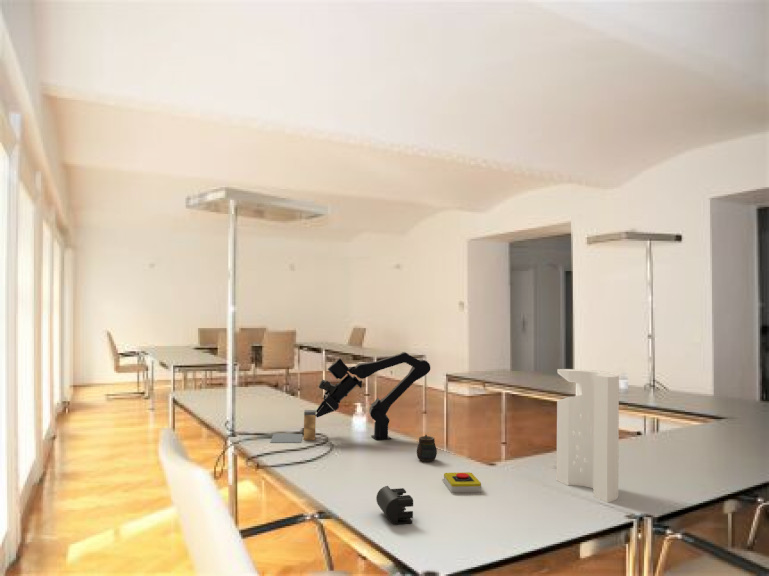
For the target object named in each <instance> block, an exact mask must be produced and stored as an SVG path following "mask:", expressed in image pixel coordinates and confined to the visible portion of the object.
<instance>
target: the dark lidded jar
mask: <svg viewBox="0 0 769 576" xmlns="http://www.w3.org/2000/svg"><path fill="white" fill-rule="evenodd" d="M435 442H436V441H435V437H433V436H431V435H429V436H428V434H425V435H422V436H419V437H418V445H417V447H416V456H417V459H418V460H419V461H421V462H425V463H429V462H433V461H434V460H436V458H437V456H438V455H437V454H438V450H437V445H436V443H435Z"/></svg>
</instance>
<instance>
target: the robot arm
mask: <svg viewBox="0 0 769 576" xmlns="http://www.w3.org/2000/svg"><path fill="white" fill-rule="evenodd" d="M400 364H406V365H409V366H410V367H411V368H410V370H409V372H408V373H407V374H406V376H405V377H403V379H402V380H401V381H399V383H397V384H396V385H395V386H394V387H393V388H392V389H391V390H390V392H388V393H387V395H386V396H384V397H383V398H381V399H379V397H377V398H376V399H375V400H374V402H372V403H370V407H369V410H368V411H369V416H370V417H371V418H372V420H374V428H373V429H374V430H373V433H374V434H373V435H370V437H371V438H372V439H375V440H376V441H382V440H383V441H384V440H391V439H392V437H391V436H389V425H390V421H391V420H390V418H389V417H388V415H387V413H388V411H389V410H390V408H391V406H392V405H393V404H394V403H395V402H396V401H397V400H398V399H399V398H400V397H401V396H402V395H403V394H404V393H405V392H406V391H407V390H408V389H409V388H410V387H411V386H412V385H413V384H414V383H416V381H418V380H420V379H422V378H423V377H425V376H426V375H428V374H429V372H430V371H431V364H430V363H429V361H427V360H425V359H423V358H422V359H421V358H420V359H418V358H416V357H414V356H412V355H410V354H409V353H407V352H405V351H404V352H403V351H402V352H400V353H397V354H395V355H391V356H389V357H385V358H382V359H378V360H376V361H366V362H360V363H357V364H356V365H355V366H347V364H346V363H345V362H344V361H343V359H341V358H338V359H337V360H336V361H335V362H333V363H332V364H330V365H329V367H328V368H327V370H328V371H329V372H330V373H331V375H332V376H333V377H334V378H335V379H336V380H338V379H339V380H340V382H339V383H336V384H333V383H332V382H330V381H328V380H326V379H325V380H324V379H321V381H320V383H319V384H318V388H319V389H320V390H323V391H325V392H324V394H323V400H322V401H321V403H320V405H319V406H318V407H317V409H315V410H316V418H320V417H323V416H324V415H328V414H330V413H332V412H336V411H337V410H338V409H339V407H340V403H341V401H342V400H343V399H345V397H347V396H348V395H349V394H350V393H351V391H352V390H353V389H355V388H356V386H358V387H359V388H360V389H362V387H363V385H362V384H363V380H362V379H366V378H368V377H370V376H372V375H374V374H375V373H377V372H379V371H382V370H384V369H388V368H391V367H394V366H398V365H400Z"/></svg>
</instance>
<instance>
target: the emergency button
mask: <svg viewBox="0 0 769 576" xmlns="http://www.w3.org/2000/svg"><path fill="white" fill-rule="evenodd" d="M441 481H442V483H443V485H444V486H445V487H446V488H447V490H448V491H449V493H450V494H451V495H453V496H481V495H483V494H484V493H483V491H482V483H481V481H480V480H479V479H478V478H477V477H476V476H475V475H474V474H473V472H470V471H469V472H444V473H443V478H442V479H441Z"/></svg>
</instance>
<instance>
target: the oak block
mask: <svg viewBox="0 0 769 576" xmlns="http://www.w3.org/2000/svg"><path fill="white" fill-rule="evenodd" d="M316 410H317V409H305V410H304V412H303V440H304V441H315V440H316V421H317V420H316V419H317V417H316V414H317V412H316Z"/></svg>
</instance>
